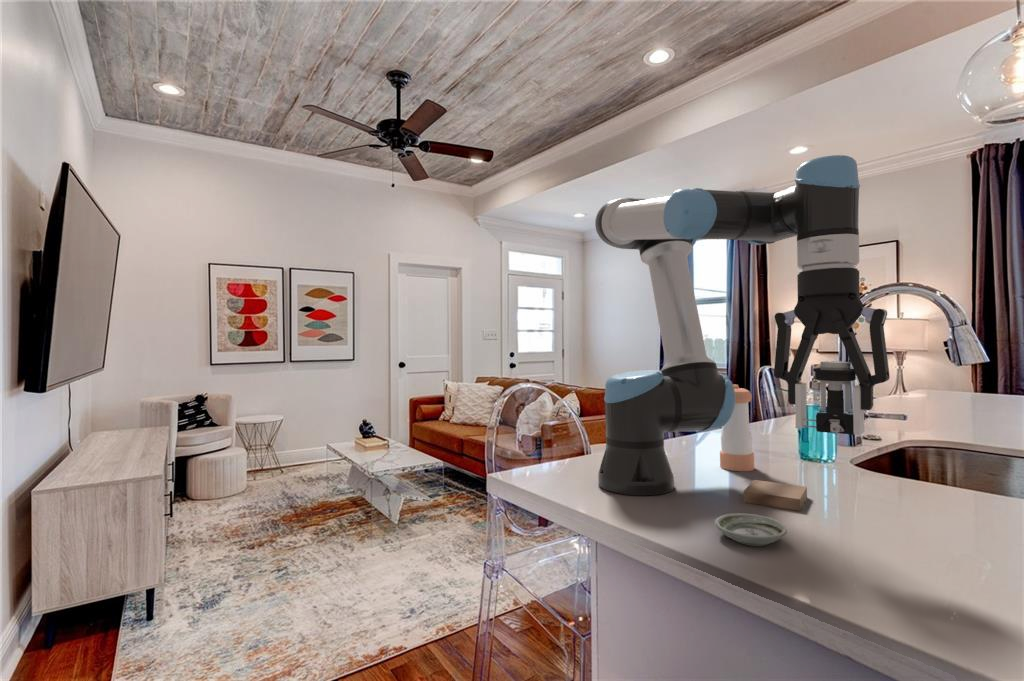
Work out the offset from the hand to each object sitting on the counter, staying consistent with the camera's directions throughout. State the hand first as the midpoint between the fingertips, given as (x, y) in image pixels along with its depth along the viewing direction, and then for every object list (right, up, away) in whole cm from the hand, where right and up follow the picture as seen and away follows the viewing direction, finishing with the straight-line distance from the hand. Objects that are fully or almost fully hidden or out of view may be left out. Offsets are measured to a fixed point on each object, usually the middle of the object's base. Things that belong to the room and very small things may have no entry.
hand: (829, 429), depth 73 cm
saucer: (-10, -17, +3) cm, 20 cm away
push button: (0, 0, 0) cm, 0 cm away
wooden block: (+3, -16, +20) cm, 26 cm away
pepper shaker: (+7, -17, +44) cm, 48 cm away
